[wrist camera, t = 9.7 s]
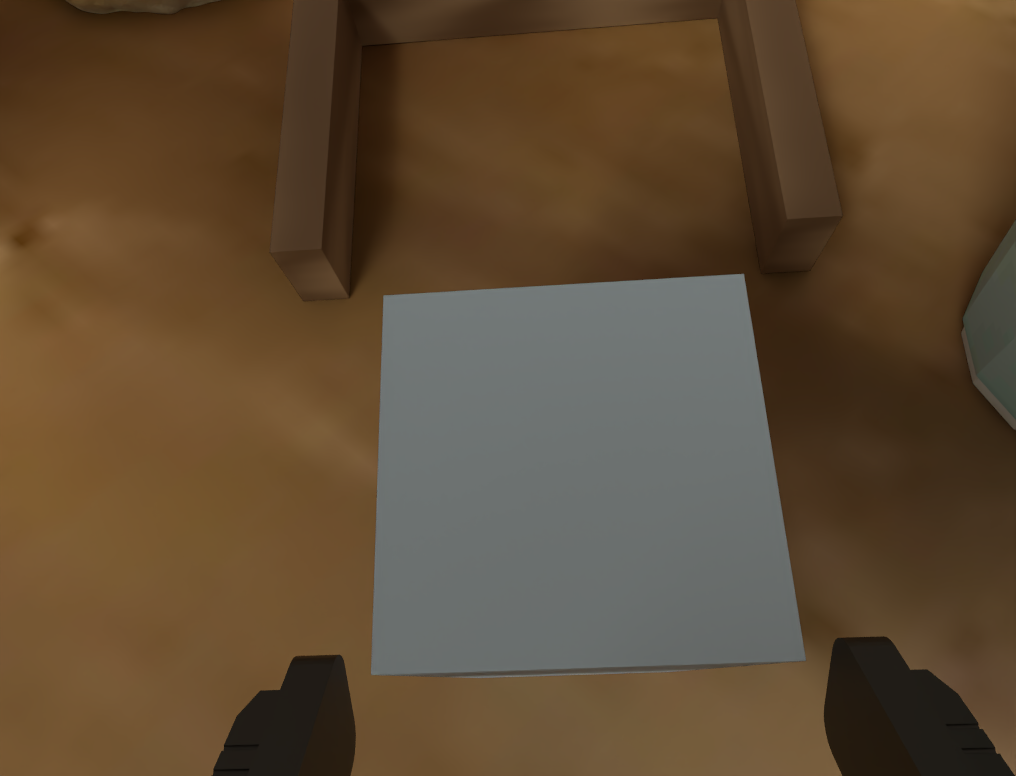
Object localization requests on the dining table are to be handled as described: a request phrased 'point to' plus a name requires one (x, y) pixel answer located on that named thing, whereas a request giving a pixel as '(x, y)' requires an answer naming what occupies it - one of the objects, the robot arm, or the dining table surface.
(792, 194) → the walnut bay
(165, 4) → the pastry
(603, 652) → the slate block
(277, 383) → the dining table surface
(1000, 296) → the disposable coffee cup
